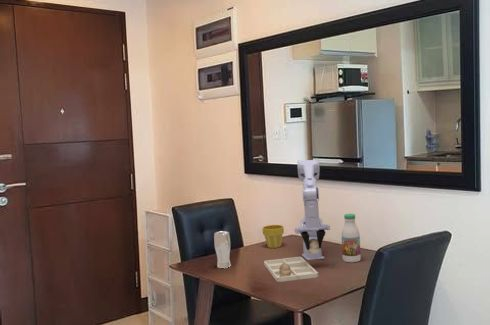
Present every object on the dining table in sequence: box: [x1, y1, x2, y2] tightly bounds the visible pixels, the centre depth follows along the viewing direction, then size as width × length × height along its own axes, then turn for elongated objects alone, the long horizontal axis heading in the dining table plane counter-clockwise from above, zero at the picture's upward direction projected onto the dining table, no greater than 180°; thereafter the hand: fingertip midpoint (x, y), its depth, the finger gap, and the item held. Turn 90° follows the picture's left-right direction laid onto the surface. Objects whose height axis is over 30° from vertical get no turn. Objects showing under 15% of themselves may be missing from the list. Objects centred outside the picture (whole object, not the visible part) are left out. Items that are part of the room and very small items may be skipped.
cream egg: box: [308, 239, 319, 254], centre depth 214 cm, size 4×4×6 cm
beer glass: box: [213, 230, 232, 269], centre depth 225 cm, size 7×7×15 cm
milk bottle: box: [341, 213, 362, 263], centre depth 222 cm, size 8×8×20 cm
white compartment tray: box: [263, 256, 320, 283], centre depth 212 cm, size 25×17×2 cm
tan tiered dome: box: [279, 263, 291, 277], centre depth 203 cm, size 4×4×6 cm
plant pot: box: [262, 224, 285, 249], centre depth 254 cm, size 10×10×10 cm
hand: (313, 248), depth 214 cm, fingers closed on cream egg, 4 cm apart
